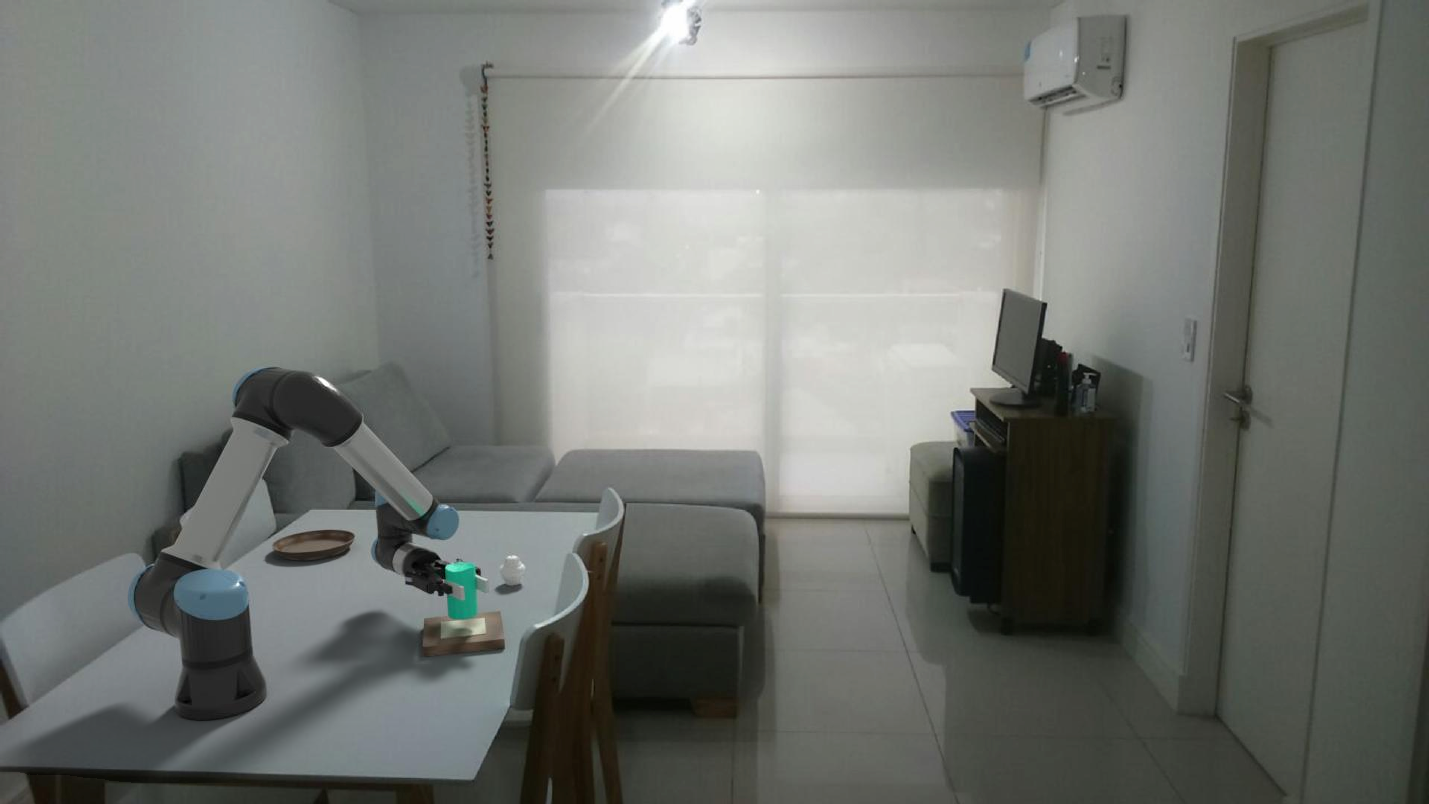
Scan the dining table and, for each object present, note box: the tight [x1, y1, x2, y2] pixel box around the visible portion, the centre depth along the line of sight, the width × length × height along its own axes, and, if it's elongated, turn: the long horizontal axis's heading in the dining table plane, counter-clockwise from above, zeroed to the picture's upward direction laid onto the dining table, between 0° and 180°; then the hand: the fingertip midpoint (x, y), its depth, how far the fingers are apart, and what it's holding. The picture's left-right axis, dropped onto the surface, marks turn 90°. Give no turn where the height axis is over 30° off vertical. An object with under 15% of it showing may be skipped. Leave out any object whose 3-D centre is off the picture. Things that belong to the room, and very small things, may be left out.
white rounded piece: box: [498, 555, 526, 587], centre depth 253 cm, size 6×6×7 cm
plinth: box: [422, 610, 506, 657], centre depth 221 cm, size 16×16×2 cm
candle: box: [445, 558, 479, 620], centre depth 219 cm, size 6×6×12 cm
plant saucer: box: [271, 529, 356, 561], centre depth 280 cm, size 21×21×3 cm
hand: (474, 590), depth 215 cm, fingers closed on candle, 5 cm apart
